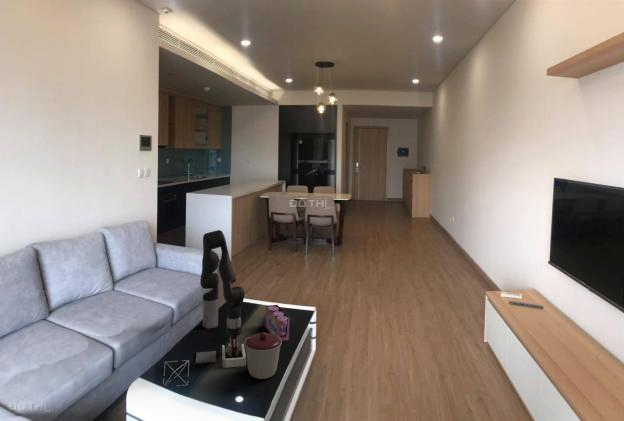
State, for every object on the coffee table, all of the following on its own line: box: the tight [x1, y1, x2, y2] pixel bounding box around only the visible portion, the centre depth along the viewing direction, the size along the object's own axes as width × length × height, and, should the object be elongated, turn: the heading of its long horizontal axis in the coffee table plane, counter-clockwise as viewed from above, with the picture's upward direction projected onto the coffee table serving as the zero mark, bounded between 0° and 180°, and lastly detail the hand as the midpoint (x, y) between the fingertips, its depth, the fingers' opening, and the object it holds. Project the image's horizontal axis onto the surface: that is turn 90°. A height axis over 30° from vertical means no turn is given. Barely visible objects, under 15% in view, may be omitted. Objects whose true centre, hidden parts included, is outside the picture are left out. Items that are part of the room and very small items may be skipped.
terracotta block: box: [227, 341, 239, 357], centre depth 214 cm, size 5×5×5 cm
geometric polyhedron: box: [162, 359, 190, 387], centre depth 185 cm, size 12×11×9 cm
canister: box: [243, 331, 283, 380], centre depth 195 cm, size 18×18×21 cm
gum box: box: [265, 304, 290, 342], centre depth 241 cm, size 24×8×14 cm, turn 24°
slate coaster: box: [195, 350, 217, 364], centre depth 209 cm, size 10×10×1 cm
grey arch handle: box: [221, 343, 247, 369], centre depth 209 cm, size 16×11×4 cm
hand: (233, 356), depth 209 cm, fingers closed
